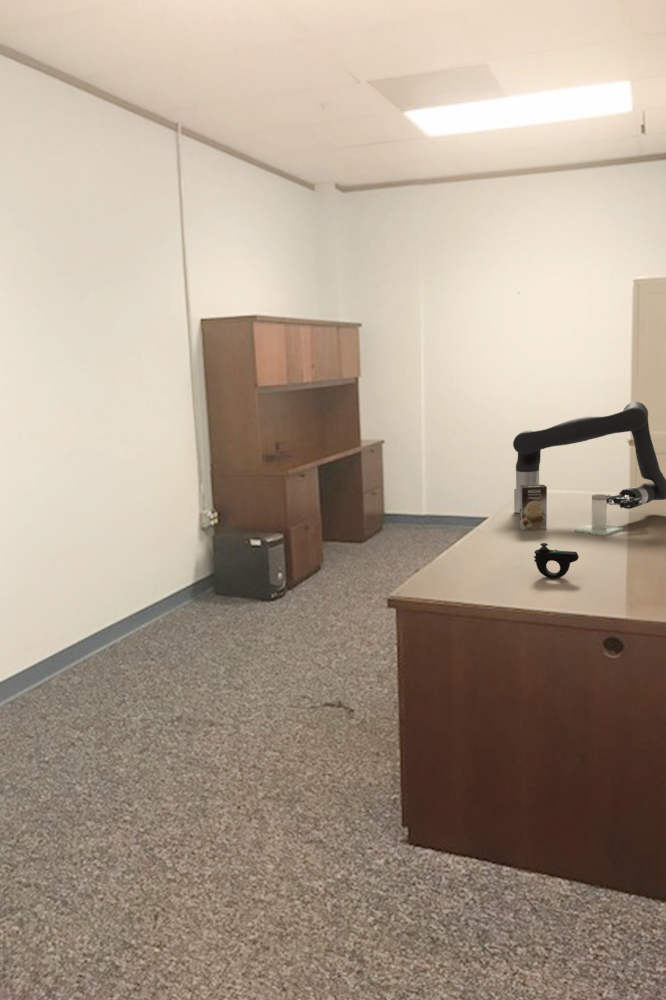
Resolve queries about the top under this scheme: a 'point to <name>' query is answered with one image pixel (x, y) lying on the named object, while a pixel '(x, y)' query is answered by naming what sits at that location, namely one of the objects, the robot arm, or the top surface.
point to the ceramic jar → (599, 511)
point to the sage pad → (599, 532)
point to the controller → (554, 555)
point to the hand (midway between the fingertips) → (609, 503)
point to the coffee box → (533, 507)
